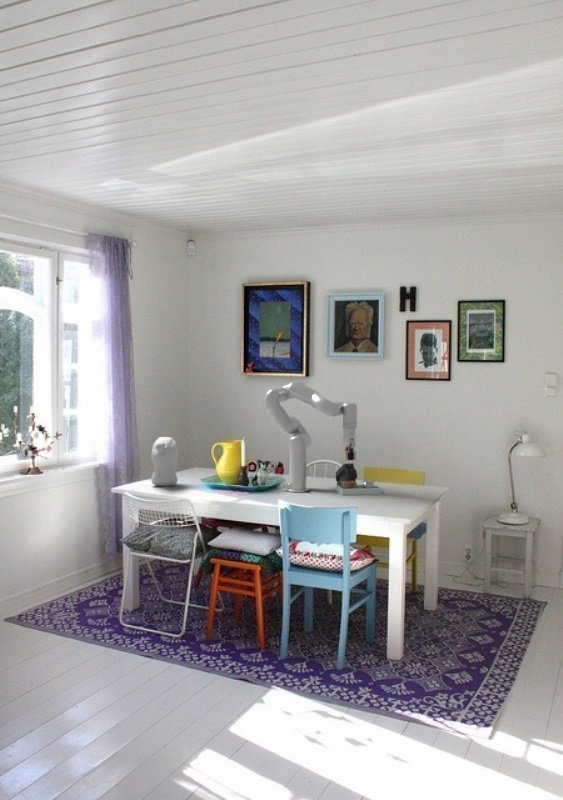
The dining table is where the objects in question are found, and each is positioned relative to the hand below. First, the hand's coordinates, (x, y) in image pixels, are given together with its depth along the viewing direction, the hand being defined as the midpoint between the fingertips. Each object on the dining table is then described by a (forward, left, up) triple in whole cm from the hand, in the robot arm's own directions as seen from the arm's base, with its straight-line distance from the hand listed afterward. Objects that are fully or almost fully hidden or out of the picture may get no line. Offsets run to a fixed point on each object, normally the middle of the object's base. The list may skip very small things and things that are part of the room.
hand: (349, 458), depth 403 cm
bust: (-98, +34, -20) cm, 106 cm away
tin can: (+11, 0, -19) cm, 22 cm away
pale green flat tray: (+6, 0, -20) cm, 20 cm away
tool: (+4, +19, -20) cm, 28 cm away
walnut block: (0, 0, -19) cm, 19 cm away
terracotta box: (0, 0, -1) cm, 1 cm away
